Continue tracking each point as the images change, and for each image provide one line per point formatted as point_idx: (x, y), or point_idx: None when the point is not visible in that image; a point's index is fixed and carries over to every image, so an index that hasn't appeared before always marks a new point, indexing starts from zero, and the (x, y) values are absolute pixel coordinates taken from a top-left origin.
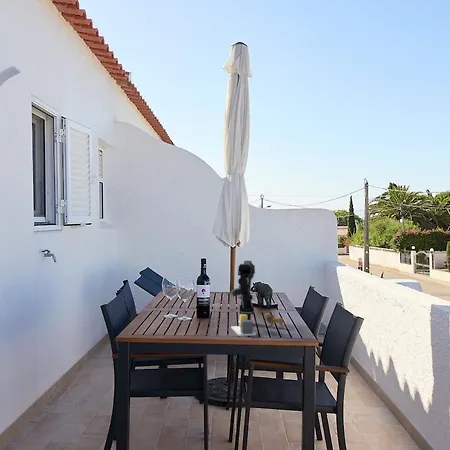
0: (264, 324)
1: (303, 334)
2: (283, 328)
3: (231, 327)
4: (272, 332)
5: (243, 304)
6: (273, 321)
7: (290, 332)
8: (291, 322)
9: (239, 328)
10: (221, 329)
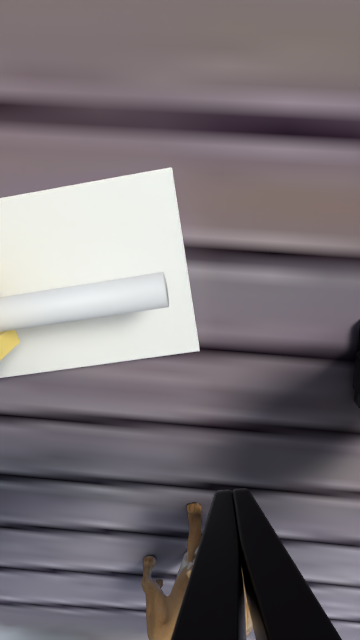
0: (322, 483)
1: (8, 614)
2: (143, 565)
3: (159, 170)
4: (24, 497)
5: (174, 632)
6: (185, 574)
7: (48, 576)
8: (356, 615)
9: (58, 265)
10: (72, 5)
